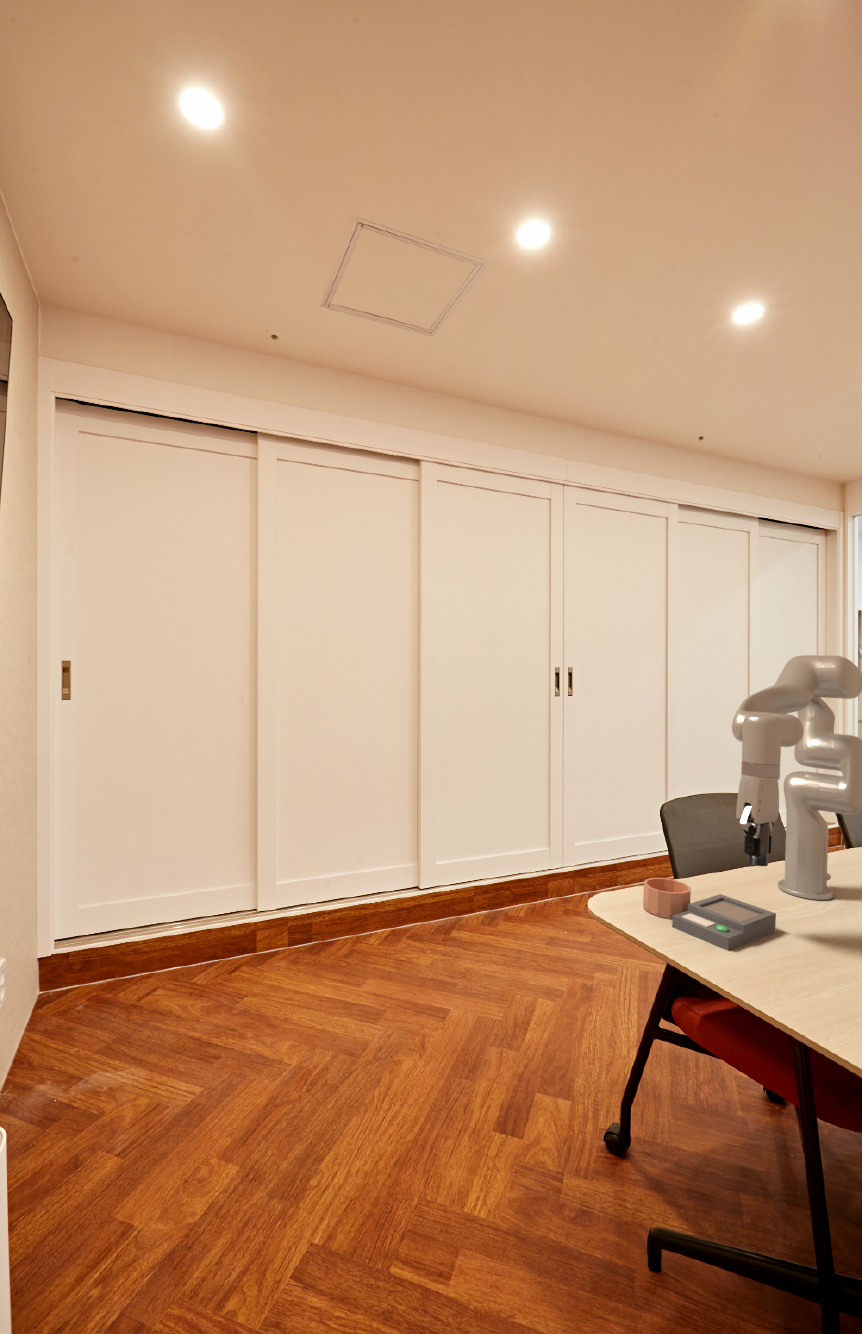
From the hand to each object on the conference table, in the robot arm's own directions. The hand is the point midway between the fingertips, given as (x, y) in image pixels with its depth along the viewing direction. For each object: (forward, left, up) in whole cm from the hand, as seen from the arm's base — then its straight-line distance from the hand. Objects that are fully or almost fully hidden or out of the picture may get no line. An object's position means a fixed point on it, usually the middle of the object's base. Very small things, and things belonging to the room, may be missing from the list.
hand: (757, 852), depth 136 cm
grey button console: (+5, -4, -17) cm, 19 cm away
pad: (+2, -4, -15) cm, 16 cm away
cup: (+7, -17, -17) cm, 26 cm away
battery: (0, 0, -2) cm, 2 cm away
